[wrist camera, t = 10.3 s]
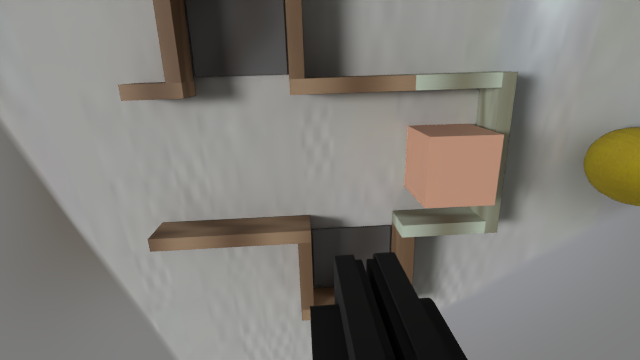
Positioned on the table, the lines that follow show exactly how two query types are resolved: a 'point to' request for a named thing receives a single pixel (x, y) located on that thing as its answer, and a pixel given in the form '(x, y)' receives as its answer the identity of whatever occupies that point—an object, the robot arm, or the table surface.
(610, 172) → the lemon
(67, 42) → the table surface
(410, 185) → the block
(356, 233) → the wooden zigzag frame
